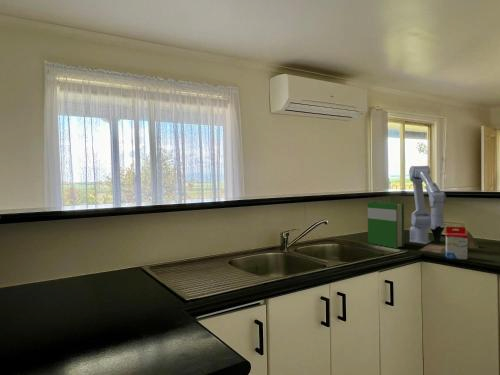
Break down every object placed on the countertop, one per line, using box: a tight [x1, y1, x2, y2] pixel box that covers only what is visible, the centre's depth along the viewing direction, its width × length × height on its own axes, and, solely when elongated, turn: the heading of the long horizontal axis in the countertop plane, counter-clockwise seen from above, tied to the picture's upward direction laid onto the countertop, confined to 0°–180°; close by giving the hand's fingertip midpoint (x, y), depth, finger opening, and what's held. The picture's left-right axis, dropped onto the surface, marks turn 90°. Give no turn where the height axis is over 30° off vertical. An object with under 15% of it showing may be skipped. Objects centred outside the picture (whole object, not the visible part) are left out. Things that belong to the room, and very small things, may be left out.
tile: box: [423, 244, 446, 253], centre depth 184 cm, size 8×2×8 cm
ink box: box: [445, 226, 468, 260], centre depth 167 cm, size 8×5×15 cm, turn 68°
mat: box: [418, 246, 446, 254], centre depth 185 cm, size 13×12×1 cm
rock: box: [465, 229, 479, 249], centre depth 189 cm, size 11×9×10 cm
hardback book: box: [367, 201, 405, 249], centre depth 198 cm, size 18×7×24 cm, turn 37°
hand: (437, 241), depth 186 cm, fingers closed
